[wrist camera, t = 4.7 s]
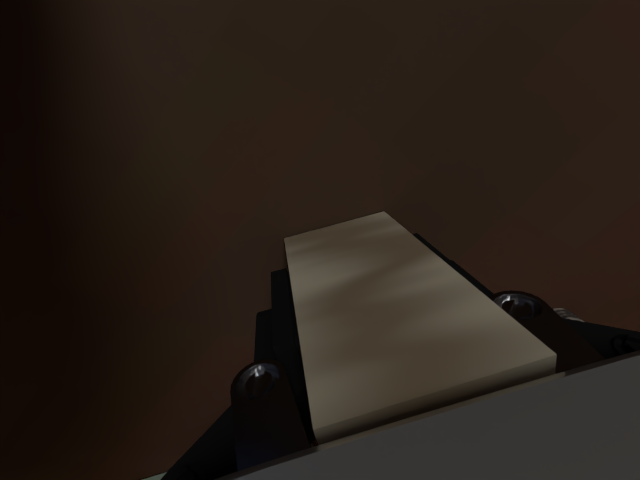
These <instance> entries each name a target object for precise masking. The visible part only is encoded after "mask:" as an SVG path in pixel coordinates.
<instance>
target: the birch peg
mask: <svg viewBox="0 0 640 480" xmlns="http://www.w3.org/2000/svg"><path fill="white" fill-rule="evenodd" d="M284 241H285V248H286V255H287V261H288V268H289V274H290V281H291V288H292V294H293V301H294V307H295V314H296V321H297V327H298V334H299V340H300V347H301V354H302V360H303V367H304V374H305V380H306V387H307V393H308V400H309V407H310V413H311V420H312V426H313V431H314V434H315V437H316V440H317V443H318V445H321V444H325V443H328V442H331V441H334V440H338V439H341V438H344V437H347V436H351V435H354V434H357V433H361V432H364V431H367V430H370V429H374V428H377V427H380V426H383V425H387V424H390V423H393V422H396V421H400V420H403V419H406V418H410V417H413V416H416V415H420V414H423V413H426V412H430V411H433V410H436V409H439V408H443V407H446V406H449V405H453V404H456V403H459V402H463V401H466V400H469V399H473V398H476V397H479V396H483V395H486V394H489V393H493V392H496V391H499V390H503V389H506V388H510V387H513V386H516V385H520V384H523V383H527V382H530V381H533V380H537V379H540V378H544V377H547V376H550V375H554V374H555V368H556V357H557V354H556V353H555V352H553V351H552V350H551V349H550V348H548V347H547V346H546V345H545V344H544V343H542V342H541V341H540V340H539V339H538V338H536V337H535V336H534V335H533V334H532V333H530V332H529V331H528V330H527V329H526V328H524V327H523V326H522V325H521V324H520V323H518V322H517V321H516V320H515V319H513V318H512V317H511V316H510V315H509V314H507V313H506V312H505V311H504V310H503V309H501V308H500V307H499V306H498V305H497V304H495V303H494V302H493V301H492V300H491V299H489V298H488V297H487V296H486V295H484V294H483V293H482V292H481V291H480V290H478V289H477V288H476V287H475V286H474V285H472V284H471V283H470V282H469V281H468V280H466V279H465V278H464V277H463V276H462V275H460V274H459V273H458V272H457V271H455V270H454V269H453V268H452V267H451V266H449V265H448V264H447V263H446V262H445V261H443V260H442V259H441V258H440V257H439V256H437V255H436V254H435V253H434V252H433V251H431V250H430V249H429V248H428V247H426V246H425V245H424V244H423V243H422V242H420V241H419V240H418V239H417V238H416V237H414V236H413V235H412V234H411V233H410V232H408V231H407V230H406V229H405V228H404V227H402V226H401V225H400V224H399V223H397V222H396V221H395V220H394V219H393V218H391V217H390V216H389V215H388V214H387V213H385V212H380V213H376V214H373V215H369V216H365V217H361V218H358V219H354V220H350V221H347V222H343V223H339V224H336V225H332V226H328V227H324V228H321V229H317V230H313V231H310V232H306V233H302V234H298V235H295V236H291V237H287V238H284Z"/></svg>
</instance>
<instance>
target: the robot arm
mask: <svg viewBox="0 0 640 480" xmlns="http://www.w3.org/2000/svg"><path fill="white" fill-rule="evenodd" d="M412 235H413V236H414V237H416V238H417V239H418V240H419V241H420V242H422V243H423V244H424V245H425V246H426V247H428V248H429V249H430V250H431V251H433V252H434V253H435V254H436V255H437V256H439V257H440V258H441V259H442V260H443V261H445V262H446V263H447V264H448V265H449V266H451V267H452V268H453V269H454V270H455V271H457V272H458V273H459V274H460V275H462V276H463V277H464V278H465V279H466V280H468V281H469V282H470V283H471V284H472V285H474V286H475V287H476V288H477V289H478V290H480V291H481V292H482V293H483V294H484V295H486V296H487V297H488V298H489V299H491V300H492V301H493V302H494V303H495V304H497V305H498V306H499V307H500V308H501V309H503V310H504V311H505V312H506V313H507V314H509V315H510V316H511V317H512V318H513V319H515V320H516V321H517V322H518V323H520V324H521V325H522V326H523V327H524V328H526V329H527V330H528V331H529V332H530V333H532V334H533V335H534V336H535V337H536V338H538V339H539V340H540V341H541V342H542V343H544V344H545V345H546V346H547V347H548V348H550V349H551V350H552V351H553V352H555V353H556V354H557V357H556V368H555V374H554V375H550V376H547V377H544V378H540V379H537V380H533V381H530V382H527V383H523V384H520V385H516V386H513V387H510V388H506V389H503V390H499V391H496V392H493V393H489V394H486V395H483V396H479V397H476V398H473V399H469V400H466V401H463V402H459V403H456V404H453V405H449V406H446V407H443V408H439V409H436V410H433V411H430V412H426V413H423V414H420V415H416V416H413V417H410V418H406V419H403V420H400V421H396V422H393V423H390V424H387V425H383V426H380V427H377V428H374V429H370V430H367V431H364V432H361V433H357V434H354V435H351V436H347V437H344V438H341V439H338V440H334V441H331V442H328V443H325V444H321V445H318V446H315V447H312V445H311V444H312V443H313V441H314V440H315V438H316V437H315V434H314V431H313V426H312V420H311V413H310V407H309V400H308V393H307V387H306V380H305V374H304V367H303V360H302V354H301V347H300V340H299V334H298V327H297V321H296V314H295V307H294V301H293V294H292V288H291V281H290V274H289V272H287V269H286V268H285V269H281V270H277V271H274V272H271V295H272V309H269V310H265V311H262V312H258V313H257V317H256V336H255V354H254V362H253V363H251V364H249V365H247V366H246V367H244V368H243V369H242V370H241V371H240V372H239V373H238V374H237V375H236V377H235V378H234V380H233V382H232V384H231V390H230V394H231V406H230V407H229V408H228V409H227V410H226V411H225V412H224V413H223V414H222V415H221V416H220V417H219V418H218V419H217V421H216V422H215V423H214V424H213V425H212V426H211V427H210V428H209V429H208V430H207V431H206V432H205V433H204V434H203V435H202V436H201V437H200V438H199V439H198V440H197V441H196V442H195V443H194V444H193V446H192V447H191V448H190V449H189V450H188V451H187V452H186V453H185V454H184V455H183V456H182V457H181V458H180V459H179V460H178V461H177V462H176V463H175V464H174V465H173V466H172V467H171V468H170V469H169V471H168V472H167V473H166V474H165V475H164V476H163V477H162V478H161V480H640V332H637V331H631V330H626V329H620V328H615V327H609V326H604V325H599V324H593V323H588V322H582V321H577V320H572V319H566V318H562V317H561V316H560V315H558V314H557V313H556V312H555V311H554V310H553V309H552V308H551V307H550V306H549V305H548V304H547V303H546V302H545V301H543V300H542V299H540V298H539V297H537V296H535V295H532V294H530V293H526V292H522V291H502V292H498V293H495V294H493V293H492V292H491V291H490V290H488V289H487V288H486V287H485V286H483V285H482V284H481V283H480V282H478V281H477V280H476V279H475V278H474V277H472V276H471V275H470V274H469V273H467V272H466V271H465V270H464V269H462V268H461V267H460V266H459V265H458V264H456V263H455V262H454V261H452V260H449V259H448V258H447V257H445V256H444V255H443V254H442V253H440V252H439V251H438V250H437V249H436V248H434V247H433V246H432V245H431V244H430V243H428V242H427V241H426V240H425V239H423V238H422V237H421V236H420V235H419V234H417V233H415V234H412Z"/></svg>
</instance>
